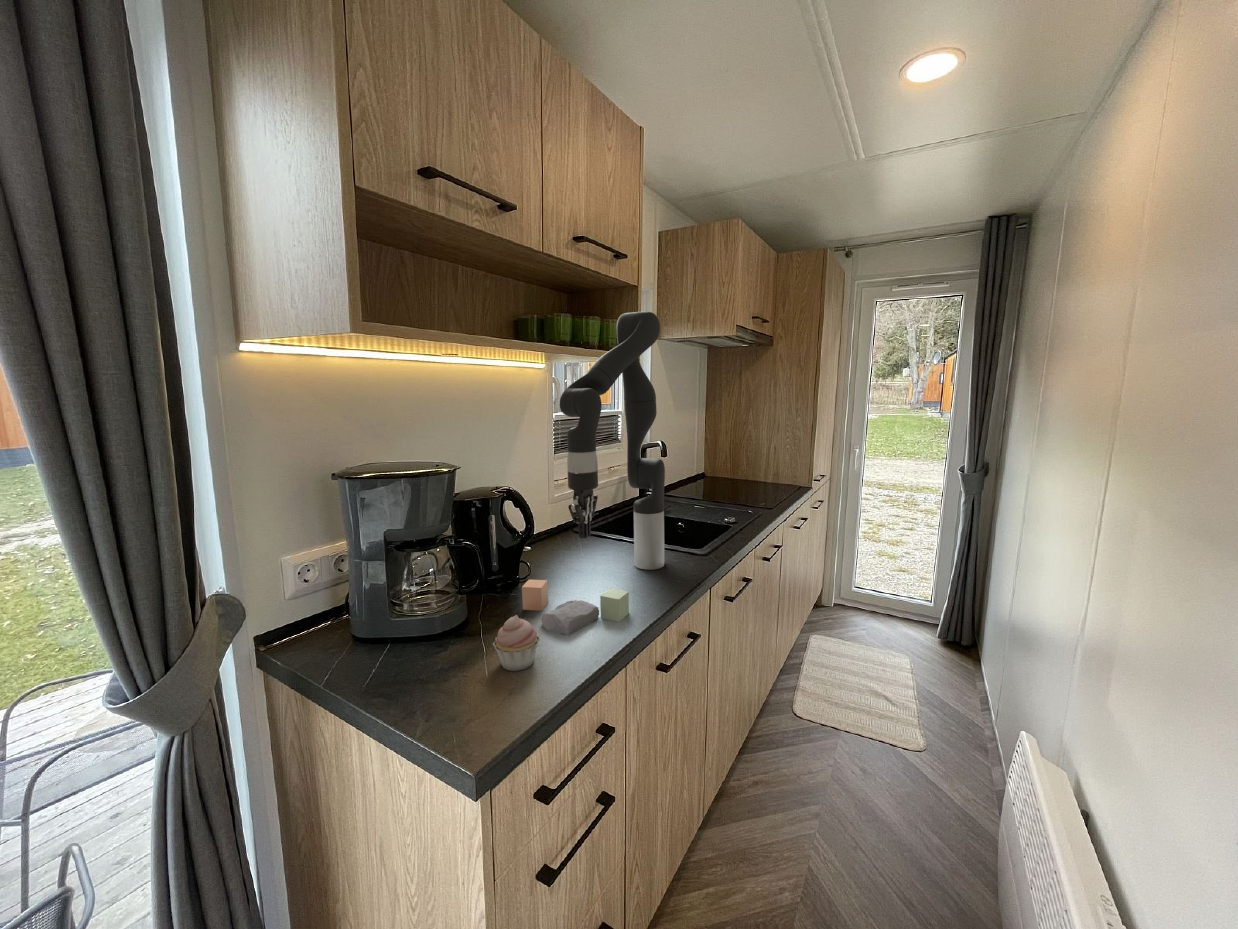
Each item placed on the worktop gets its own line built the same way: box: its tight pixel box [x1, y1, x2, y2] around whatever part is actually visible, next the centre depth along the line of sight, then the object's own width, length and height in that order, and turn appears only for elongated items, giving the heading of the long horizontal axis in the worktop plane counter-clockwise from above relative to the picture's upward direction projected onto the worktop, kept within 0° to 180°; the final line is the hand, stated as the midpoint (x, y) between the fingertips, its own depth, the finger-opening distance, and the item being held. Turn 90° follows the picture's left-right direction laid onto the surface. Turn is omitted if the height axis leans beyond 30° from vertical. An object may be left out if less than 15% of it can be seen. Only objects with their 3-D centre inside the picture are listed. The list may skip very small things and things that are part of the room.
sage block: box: [599, 588, 630, 622], centre depth 120 cm, size 5×5×6 cm
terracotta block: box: [521, 579, 549, 612], centre depth 126 cm, size 5×5×6 cm
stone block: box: [541, 599, 600, 636], centre depth 117 cm, size 12×5×10 cm
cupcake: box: [492, 614, 542, 672], centre depth 99 cm, size 9×9×10 cm
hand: (584, 536), depth 127 cm, fingers closed
